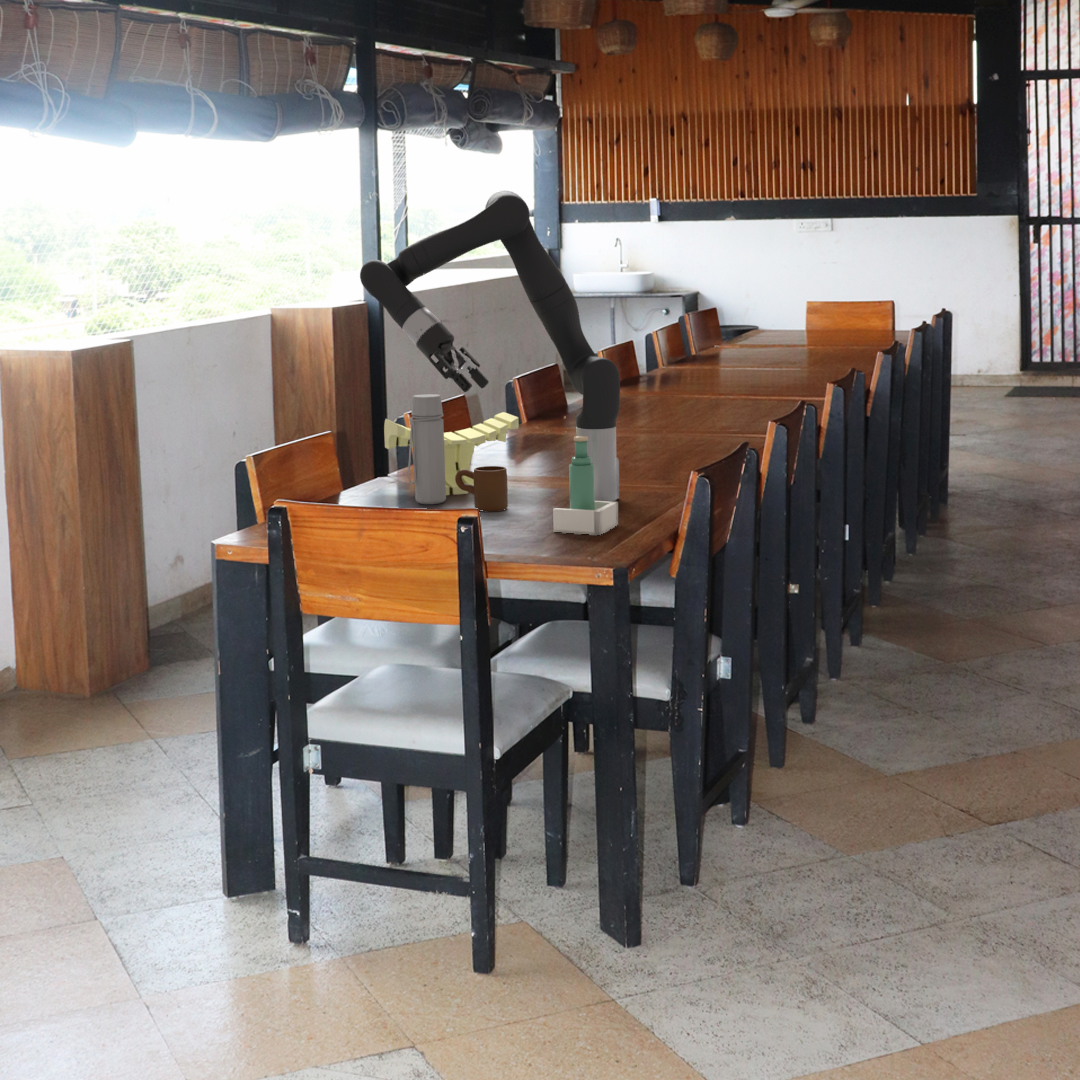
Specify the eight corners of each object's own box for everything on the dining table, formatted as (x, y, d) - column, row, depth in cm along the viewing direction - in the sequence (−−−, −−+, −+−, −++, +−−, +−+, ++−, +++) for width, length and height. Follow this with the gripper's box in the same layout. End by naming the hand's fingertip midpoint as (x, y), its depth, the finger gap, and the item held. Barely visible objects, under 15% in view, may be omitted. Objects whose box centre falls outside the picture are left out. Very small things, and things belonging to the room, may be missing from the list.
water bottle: (436, 498, 324) (432, 393, 319) (452, 502, 317) (449, 395, 312) (402, 502, 319) (397, 396, 314) (417, 507, 312) (413, 398, 307)
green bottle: (581, 522, 288) (579, 434, 285) (600, 525, 285) (598, 436, 281) (565, 526, 285) (563, 437, 281) (584, 529, 281) (582, 439, 277)
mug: (452, 511, 306) (450, 470, 305) (460, 505, 314) (459, 465, 312) (503, 512, 304) (502, 471, 302) (511, 506, 311) (510, 466, 310)
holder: (553, 532, 282) (553, 509, 280) (573, 522, 292) (572, 499, 291) (599, 535, 278) (599, 511, 277) (618, 525, 288) (617, 501, 287)
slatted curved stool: (501, 479, 348) (500, 410, 344) (520, 489, 333) (518, 417, 330) (386, 488, 339) (383, 417, 336) (399, 498, 324) (396, 424, 321)
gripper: (423, 323, 287) (474, 378, 285) (453, 319, 300) (501, 372, 298) (402, 348, 290) (452, 403, 288) (432, 343, 303) (480, 396, 301)
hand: (477, 387), depth 293 cm, fingers open, 8 cm apart
